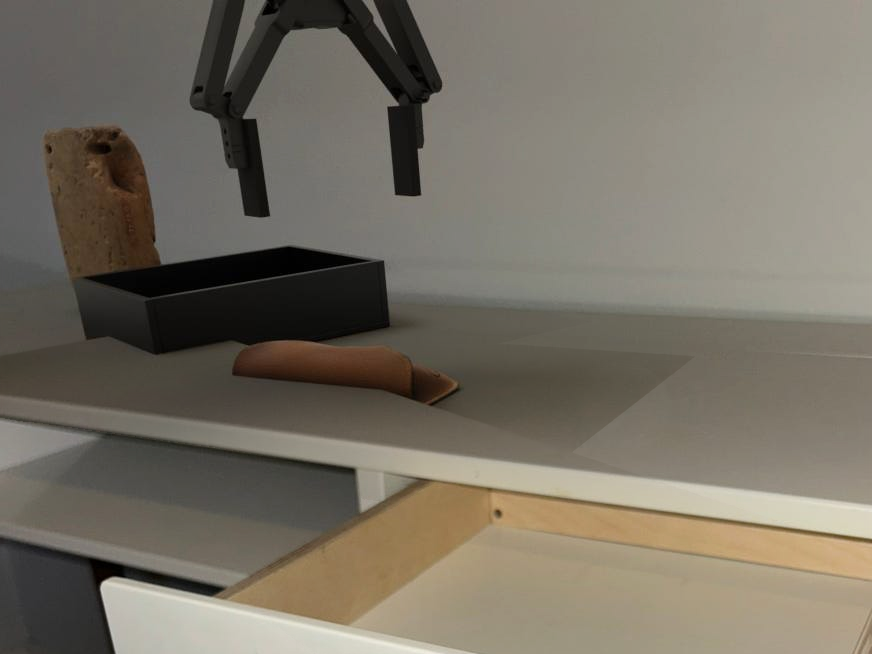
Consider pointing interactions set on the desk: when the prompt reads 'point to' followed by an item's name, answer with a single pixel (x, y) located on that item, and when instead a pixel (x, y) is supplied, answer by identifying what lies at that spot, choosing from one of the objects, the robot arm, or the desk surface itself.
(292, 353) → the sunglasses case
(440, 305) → the desk surface
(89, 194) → the block
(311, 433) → the desk surface
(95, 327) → the open box
